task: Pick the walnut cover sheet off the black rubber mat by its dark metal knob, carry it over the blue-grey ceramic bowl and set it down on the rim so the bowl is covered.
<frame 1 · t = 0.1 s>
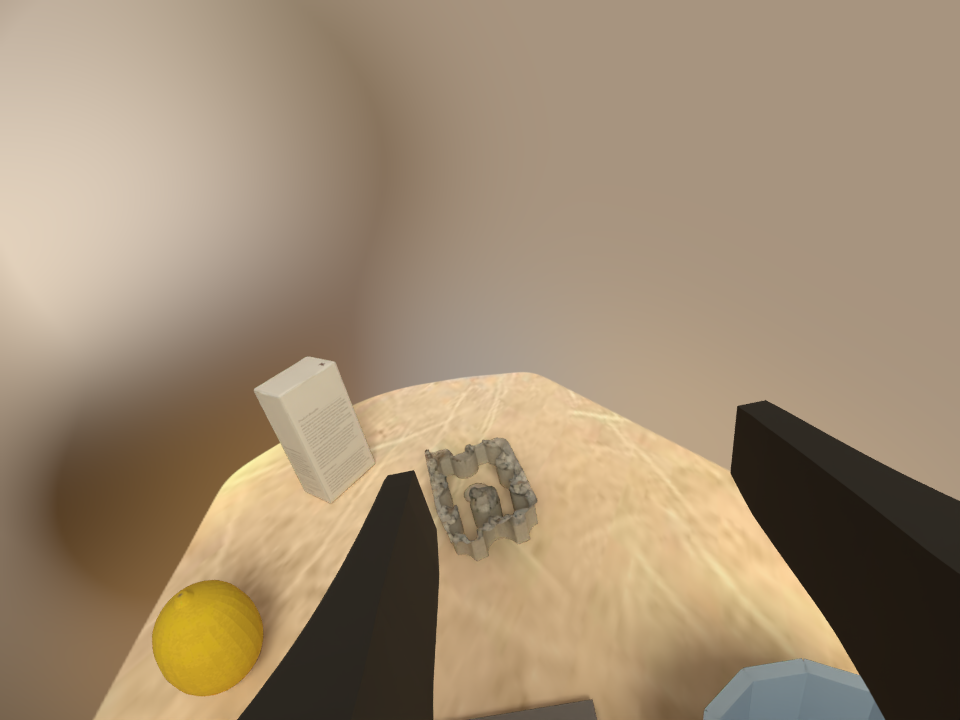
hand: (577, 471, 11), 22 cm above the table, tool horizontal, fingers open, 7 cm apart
skincare box: (340, 480, 47), on the table
lemon: (239, 675, 32), on the table
grey lumpy piece: (485, 508, 41), on the table
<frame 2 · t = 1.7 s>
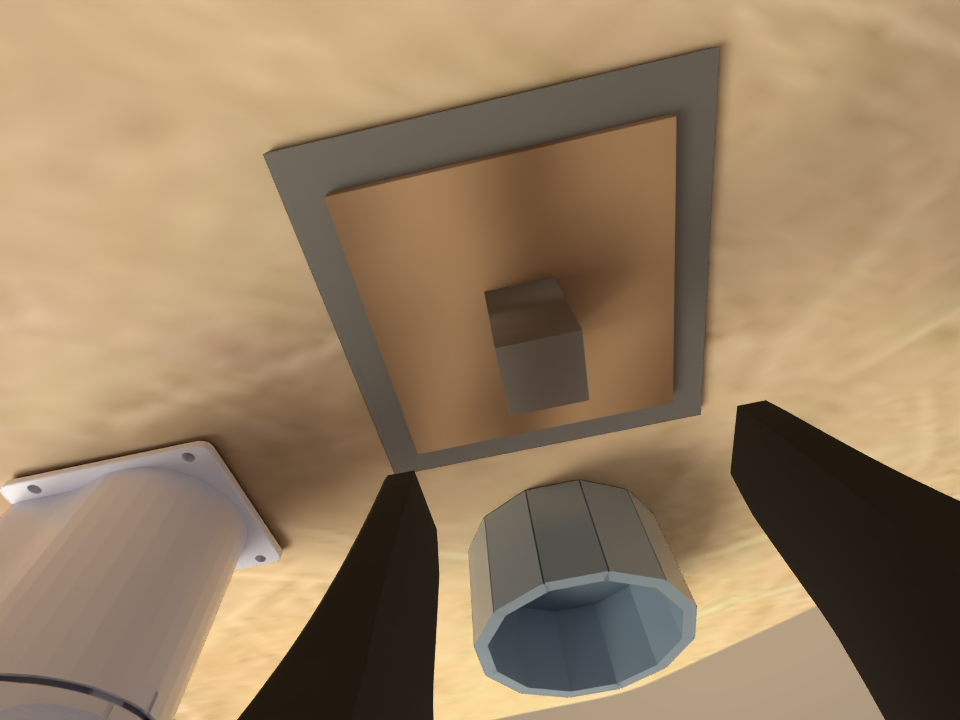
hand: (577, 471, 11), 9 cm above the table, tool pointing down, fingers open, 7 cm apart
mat: (520, 303, 19), on the table
bowl: (563, 548, 26), on the table
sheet: (521, 308, 18), resting on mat
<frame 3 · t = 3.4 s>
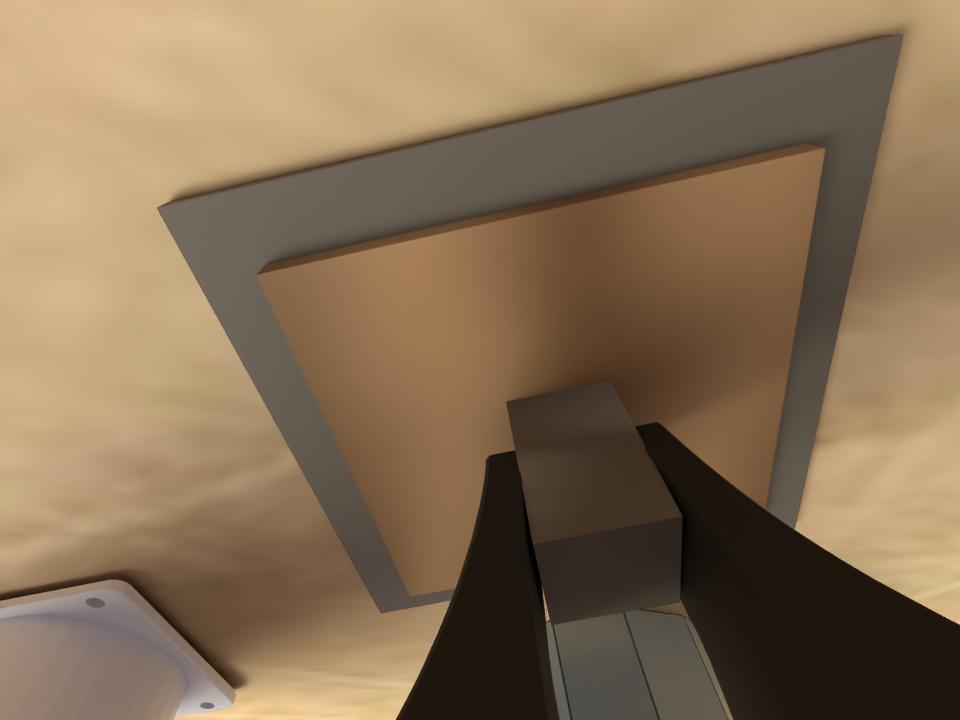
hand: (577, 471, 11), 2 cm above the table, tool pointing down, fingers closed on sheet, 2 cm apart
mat: (555, 406, 13), on the table
bowl: (596, 678, 21), on the table
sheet: (558, 416, 13), resting on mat, touching gripper
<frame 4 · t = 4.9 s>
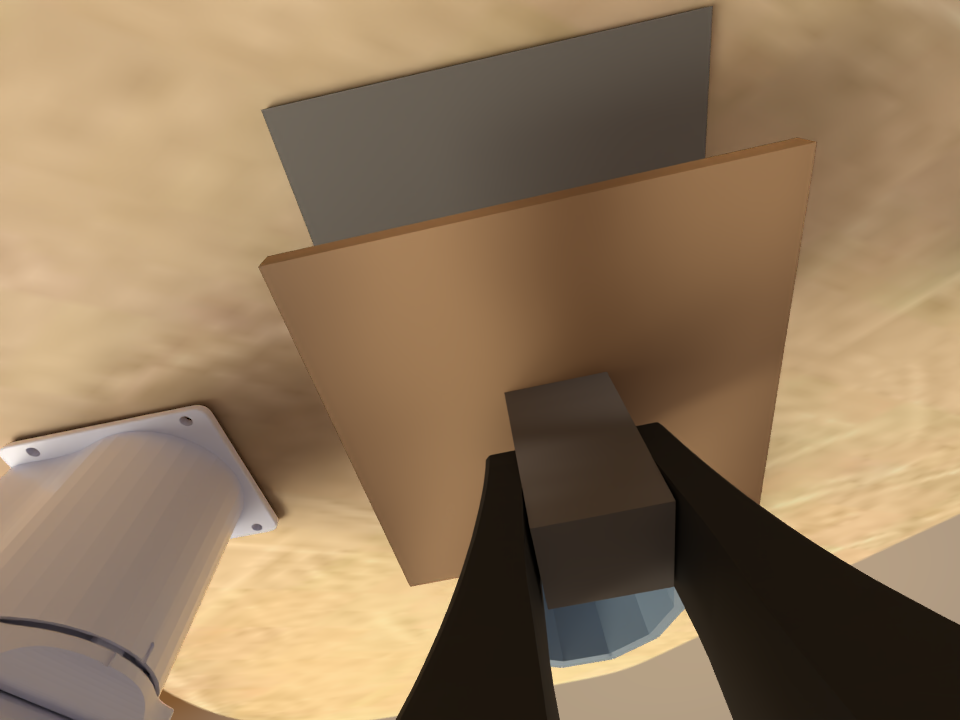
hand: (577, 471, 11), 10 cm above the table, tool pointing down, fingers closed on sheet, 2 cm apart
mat: (515, 268, 19), on the table
bowl: (557, 521, 27), on the table
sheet: (556, 407, 13), point 8 cm above the table, touching gripper
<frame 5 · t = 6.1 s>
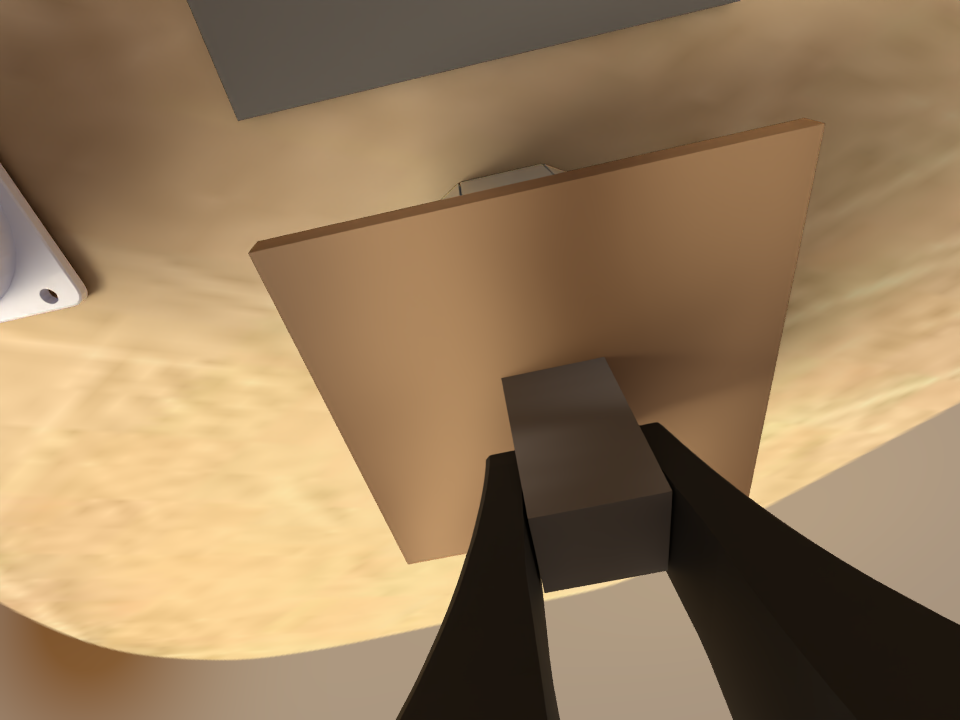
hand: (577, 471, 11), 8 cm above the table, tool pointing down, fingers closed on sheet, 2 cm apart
bowl: (524, 313, 18), on the table
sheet: (552, 391, 13), point 6 cm above the table, touching gripper
when the fingers open (8 cm above the table, at t = 6.7 s): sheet stays where it is, resting on bowl.
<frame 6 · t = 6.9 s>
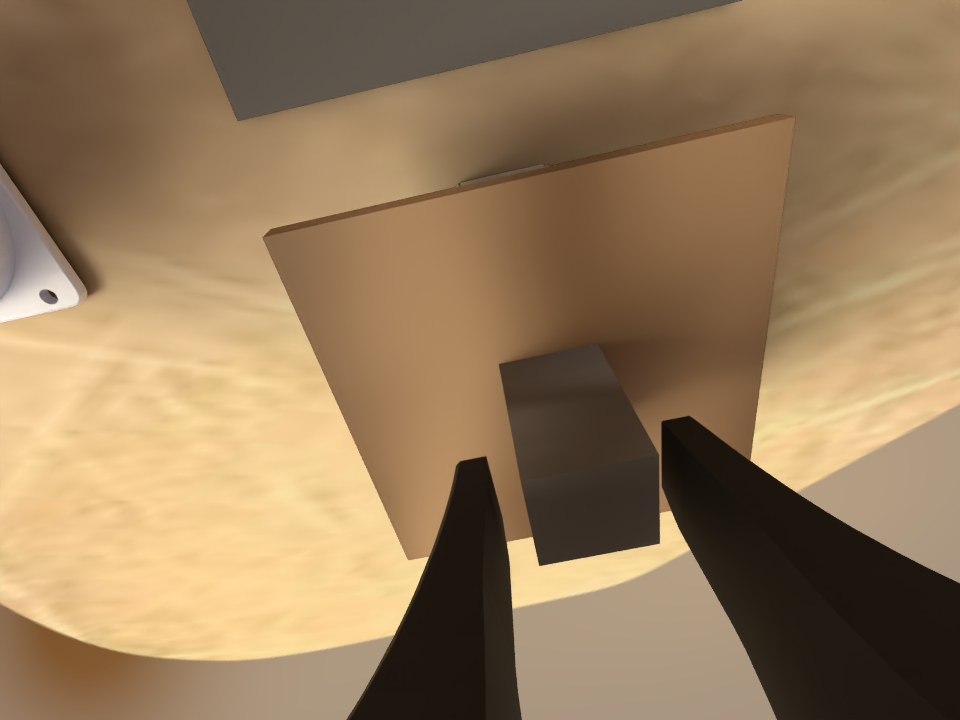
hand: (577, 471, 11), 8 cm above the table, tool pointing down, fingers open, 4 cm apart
bowl: (525, 314, 18), on the table
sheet: (549, 380, 13), point 5 cm above the table, touching bowl
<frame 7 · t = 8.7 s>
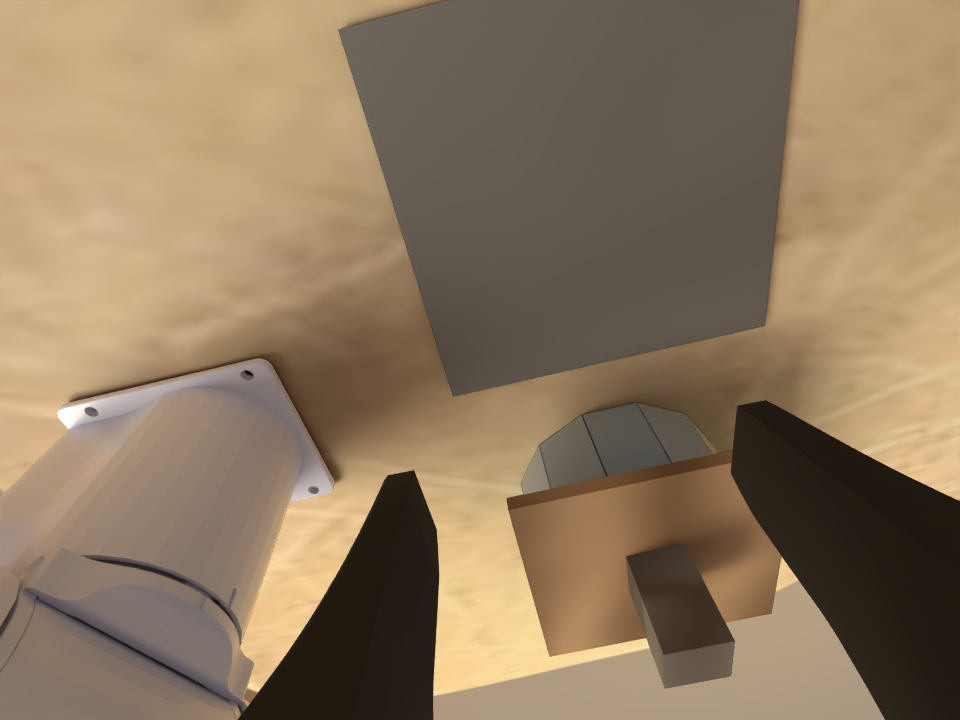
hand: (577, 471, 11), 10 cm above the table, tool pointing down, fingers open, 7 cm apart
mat: (588, 202, 18), on the table
bowl: (616, 480, 26), on the table
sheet: (650, 556, 21), point 5 cm above the table, touching bowl
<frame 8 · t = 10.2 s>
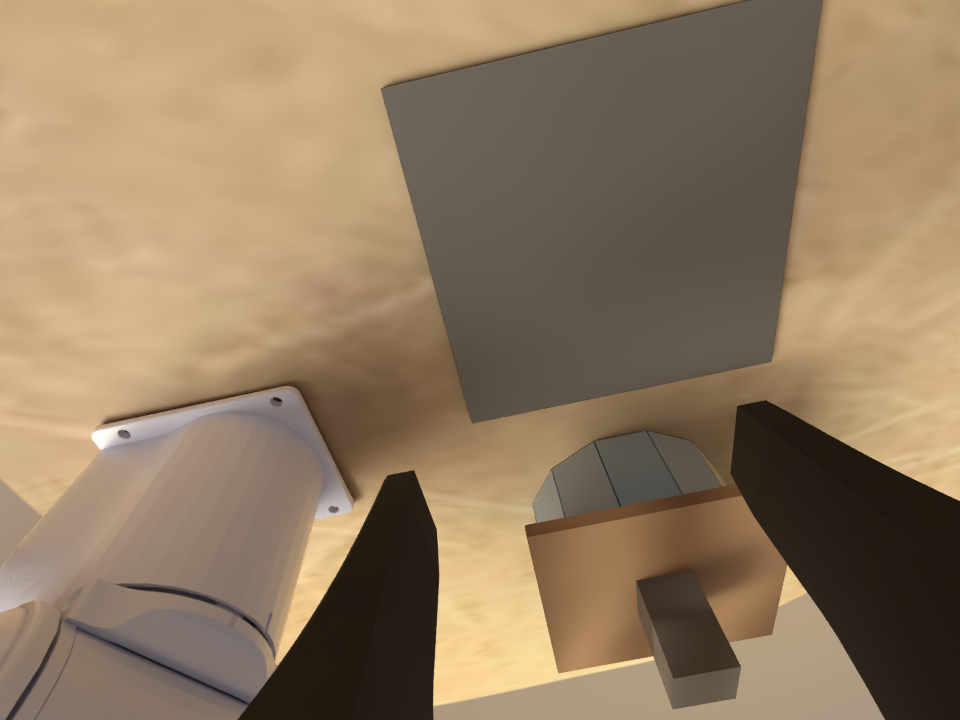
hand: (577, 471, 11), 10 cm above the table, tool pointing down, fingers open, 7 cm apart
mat: (607, 246, 19), on the table
bowl: (624, 503, 27), on the table
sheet: (659, 579, 22), point 5 cm above the table, touching bowl
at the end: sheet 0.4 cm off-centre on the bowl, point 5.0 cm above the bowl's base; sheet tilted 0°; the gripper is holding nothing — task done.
